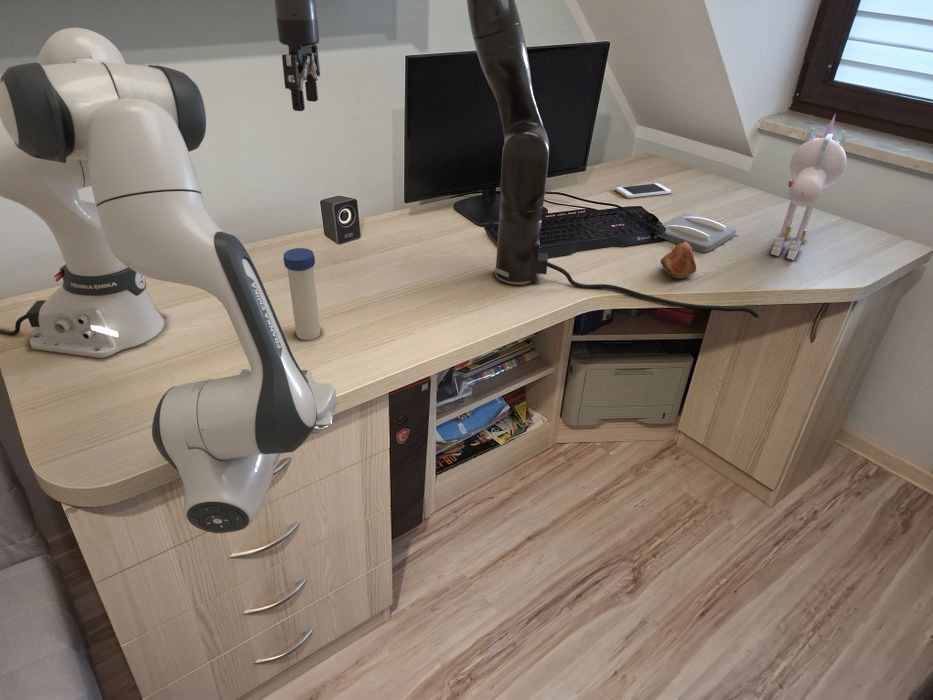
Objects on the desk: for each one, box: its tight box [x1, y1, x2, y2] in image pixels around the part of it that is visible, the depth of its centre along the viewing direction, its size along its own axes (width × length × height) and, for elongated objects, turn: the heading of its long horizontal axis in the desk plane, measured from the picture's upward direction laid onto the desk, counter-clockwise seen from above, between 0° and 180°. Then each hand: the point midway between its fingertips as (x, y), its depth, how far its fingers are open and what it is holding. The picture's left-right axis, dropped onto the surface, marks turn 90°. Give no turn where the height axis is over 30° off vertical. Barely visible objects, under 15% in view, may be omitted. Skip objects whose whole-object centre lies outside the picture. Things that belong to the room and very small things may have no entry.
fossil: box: [660, 241, 697, 279], centre depth 147 cm, size 13×8×10 cm
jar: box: [287, 266, 321, 341], centre depth 118 cm, size 4×4×16 cm
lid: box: [282, 247, 316, 271], centre depth 113 cm, size 5×5×2 cm
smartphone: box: [615, 182, 672, 199], centre depth 194 cm, size 7×16×1 cm, turn 111°
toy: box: [770, 112, 847, 261], centre depth 159 cm, size 12×36×30 cm, turn 148°
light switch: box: [654, 212, 737, 253], centre depth 167 cm, size 18×3×15 cm
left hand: (276, 373), depth 99 cm, fingers open, 8 cm apart
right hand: (306, 105), depth 129 cm, fingers open, 8 cm apart
